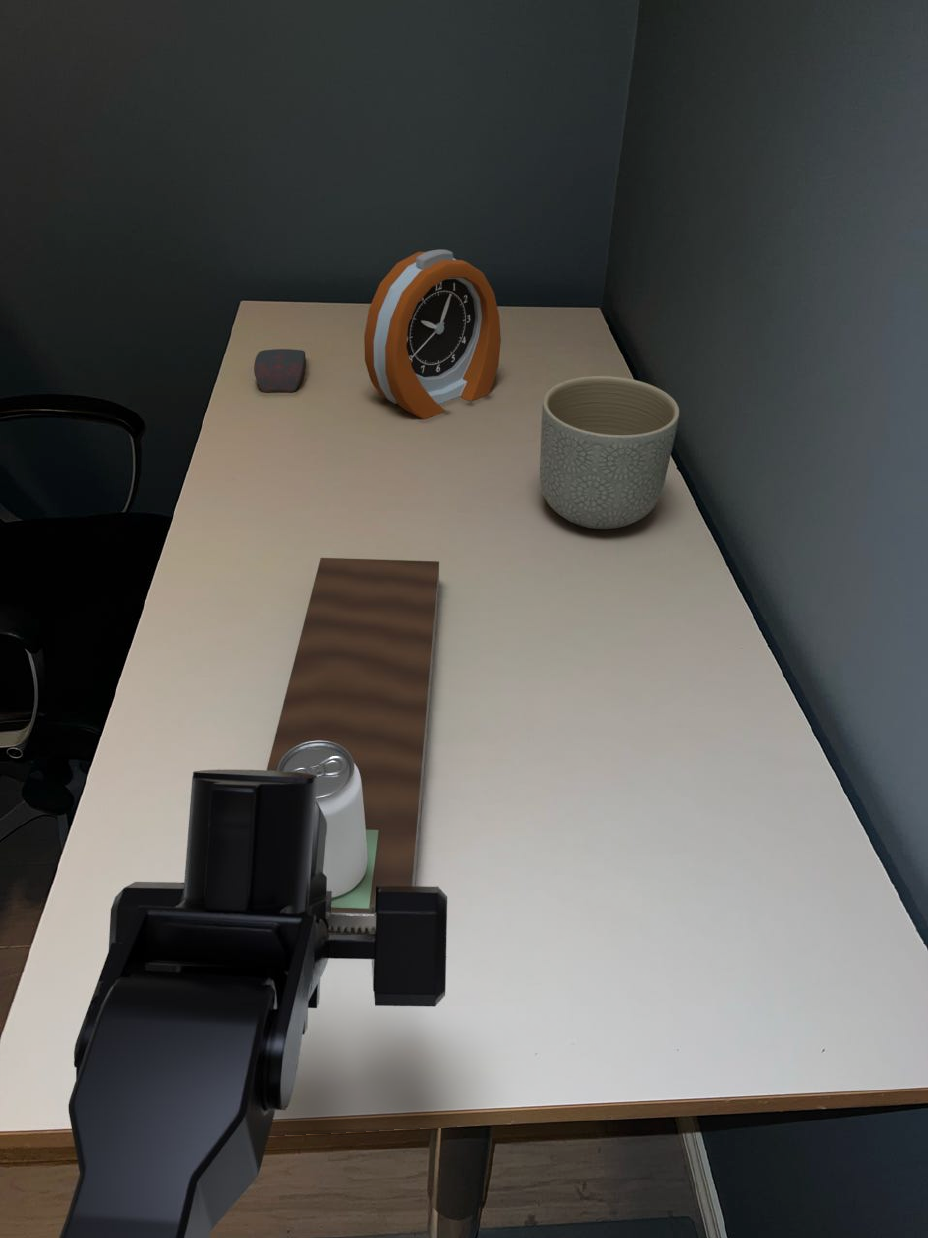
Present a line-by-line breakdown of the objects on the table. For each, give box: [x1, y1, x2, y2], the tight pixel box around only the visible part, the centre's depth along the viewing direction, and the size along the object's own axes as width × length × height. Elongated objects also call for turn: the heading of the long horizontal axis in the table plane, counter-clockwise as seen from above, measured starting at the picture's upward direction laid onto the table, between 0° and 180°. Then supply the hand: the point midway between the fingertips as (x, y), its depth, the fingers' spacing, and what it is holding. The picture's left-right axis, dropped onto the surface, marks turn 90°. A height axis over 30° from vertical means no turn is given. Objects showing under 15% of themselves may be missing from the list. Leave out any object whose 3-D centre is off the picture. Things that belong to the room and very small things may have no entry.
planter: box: [539, 375, 680, 530], centre depth 120 cm, size 17×17×15 cm
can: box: [277, 740, 368, 898], centre depth 71 cm, size 6×6×12 cm
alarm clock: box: [363, 249, 502, 420], centre depth 143 cm, size 22×10×23 cm, turn 132°
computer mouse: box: [253, 348, 306, 393], centre depth 154 cm, size 8×14×4 cm, turn 3°
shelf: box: [266, 557, 440, 913], centre depth 91 cm, size 48×14×4 cm, turn 178°
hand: (305, 911), depth 61 cm, fingers open, 9 cm apart
